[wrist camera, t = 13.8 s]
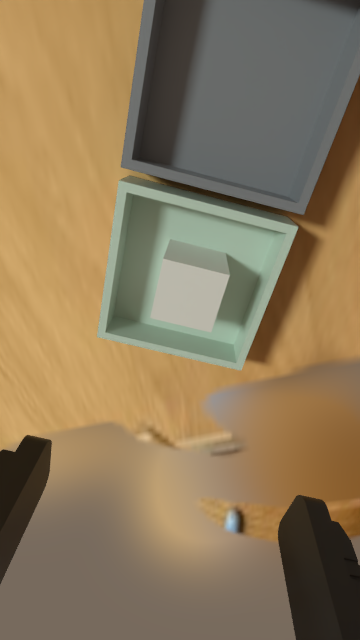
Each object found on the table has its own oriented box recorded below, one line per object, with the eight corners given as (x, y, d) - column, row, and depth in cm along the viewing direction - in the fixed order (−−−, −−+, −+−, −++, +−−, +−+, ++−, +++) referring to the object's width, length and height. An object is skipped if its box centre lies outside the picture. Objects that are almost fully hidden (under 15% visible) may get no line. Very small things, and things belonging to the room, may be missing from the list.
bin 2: (287, 216, 26) (298, 227, 23) (237, 347, 31) (241, 370, 28) (129, 175, 25) (118, 180, 22) (107, 317, 31) (97, 337, 28)
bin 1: (372, -8, 20) (403, -35, 17) (291, 205, 25) (303, 215, 22) (166, -70, 19) (159, -111, 16) (131, 163, 25) (120, 167, 22)
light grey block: (225, 252, 27) (229, 275, 22) (210, 303, 29) (211, 332, 24) (169, 238, 26) (163, 258, 22) (158, 290, 29) (150, 318, 24)
